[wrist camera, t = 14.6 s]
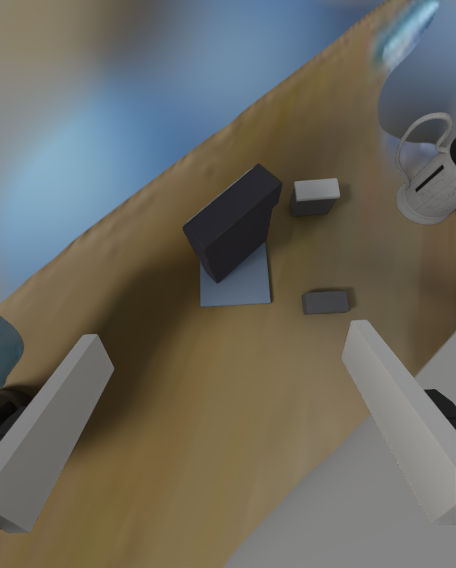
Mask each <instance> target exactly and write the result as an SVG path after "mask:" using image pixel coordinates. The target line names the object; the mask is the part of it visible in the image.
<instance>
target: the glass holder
mask: <svg viewBox="0 0 456 568" xmlns="http://www.w3.org/2000/svg"><path fill="white" fill-rule="evenodd" d="M430 119H444V120H446V121H447V123H448V128H447V130H446V132H445V133H444V135H443V136H442V137H441V138H440V139H439V140H438V142H437V144H436V150H437V151H438V152H439V153H438V154H437V155H436V156H435V157H434V158H433V159H432V160H431V161H430V162H429V163H428V164H427V165H426V166H425V167H424V168H423V169H422V170H421V171H420V172H419V173H418V174H417V175H416V176H415V177H414V178H413V179H412V180H410V181H409V179H408V177H407V175H406V173H405V172H404V170H403V168H402V166H401V164H400V161H399V154H400V149H401V147H402V145H403V142H404V141H405V139H406V138H407V136H408V135H409V133H410V132H411V131H412V130H413V129H414V128H415V127H416V126H417V125H419V124H421V123H422V122H424V121H427V120H430ZM452 127H453V119H452V118H451V116H450V115H448V114H446V113H440V112H439V113H431V114H428V115H426V116H423V117H421V118H420V119H418V120H417V121H415V122H414V123H413V124H412V125H411V126H410V128H409V129H408V130H407V131H406V133H405V135H404V136H403V137H402V139H401V141H400V143H399V145H398V148H397V152H396V160H395V163H396V166H397V168H398V170H399V172H400V174H401V176H402V177H403V179H404V180H405V182H406V183H404V184H403V185H402V186H401V187H400V188H399V189H398V191H397V194H396V203H397V206H398V208H399V210H400V211H401V213H402V214H403V215H404V216H405V217H406V218H408V219H410V220H411V221H413V222H416V223H419V224H424V225H432V224H437V223H440V222H442V221H443V220H445V219H446V218H447V217H448V216H449V215H450V213H451V212H452V211H454V210H455V209H456V137H455V138H454V139H452V140H451V141H450V143H448V144H447V145H446V146H445V147H442V146H440V144H441V143H442V142H443V141H444V140H445V139H446V137H447V136H448V135H449V134H450V132H451V129H452Z"/></svg>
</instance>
